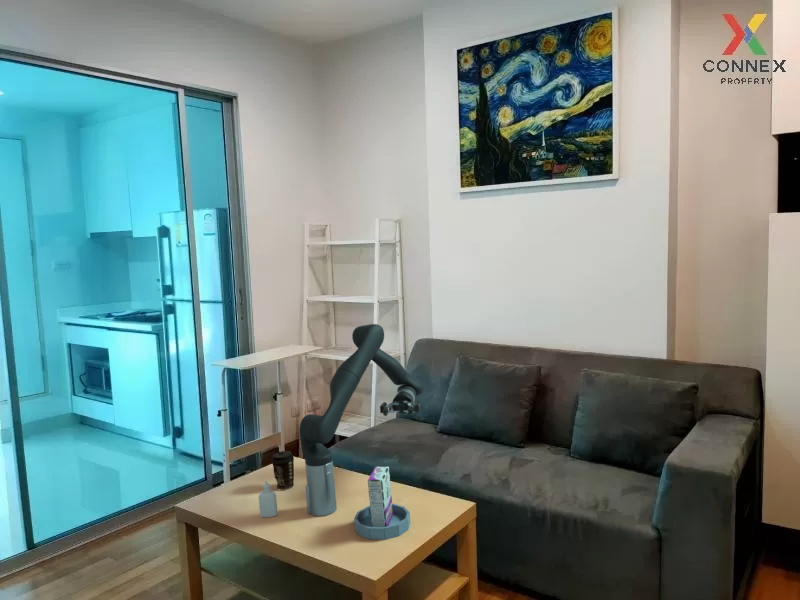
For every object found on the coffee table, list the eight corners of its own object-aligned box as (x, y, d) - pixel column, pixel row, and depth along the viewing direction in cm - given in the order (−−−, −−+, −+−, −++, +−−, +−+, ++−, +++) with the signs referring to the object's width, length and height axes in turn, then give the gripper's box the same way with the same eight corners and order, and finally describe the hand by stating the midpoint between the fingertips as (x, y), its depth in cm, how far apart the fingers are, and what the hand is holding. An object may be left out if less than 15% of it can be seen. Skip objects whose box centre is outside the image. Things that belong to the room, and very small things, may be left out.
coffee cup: (278, 482, 229) (275, 450, 228) (299, 481, 228) (296, 449, 227) (270, 491, 220) (267, 458, 219) (292, 491, 219) (289, 457, 218)
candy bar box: (378, 514, 192) (374, 466, 191) (393, 514, 192) (389, 466, 190) (370, 530, 182) (366, 479, 180) (386, 531, 181) (382, 479, 179)
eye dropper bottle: (267, 511, 203) (264, 477, 202) (279, 514, 200) (276, 480, 199) (258, 516, 200) (255, 482, 198) (270, 519, 197) (267, 485, 196)
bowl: (350, 539, 179) (349, 528, 179) (362, 513, 196) (361, 503, 196) (405, 539, 176) (404, 528, 176) (413, 513, 193) (412, 503, 193)
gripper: (384, 391, 223) (376, 403, 207) (422, 390, 220) (416, 402, 204) (386, 410, 223) (378, 423, 207) (423, 410, 221) (417, 423, 205)
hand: (397, 413), depth 206 cm, fingers open, 8 cm apart
